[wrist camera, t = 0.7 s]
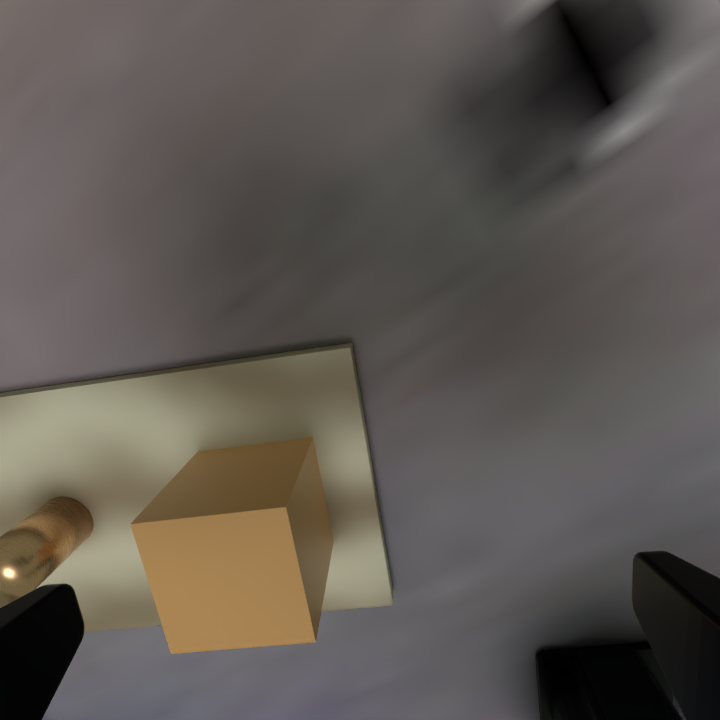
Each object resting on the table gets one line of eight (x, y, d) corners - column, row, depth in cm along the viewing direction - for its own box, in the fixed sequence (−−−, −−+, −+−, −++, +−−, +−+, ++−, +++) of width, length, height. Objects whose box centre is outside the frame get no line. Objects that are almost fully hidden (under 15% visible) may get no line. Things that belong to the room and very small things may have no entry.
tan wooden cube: (333, 542, 21) (315, 642, 16) (224, 553, 22) (171, 653, 16) (312, 437, 20) (286, 506, 14) (197, 451, 20) (130, 524, 15)
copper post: (100, 540, 22) (38, 604, 18) (51, 545, 22) (-21, 609, 18) (84, 493, 21) (16, 548, 17) (34, 499, 21) (-44, 555, 18)
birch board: (392, 589, 23) (393, 605, 22) (32, 622, 25) (18, 637, 24) (351, 342, 20) (350, 347, 19) (-55, 401, 22) (-76, 408, 21)
